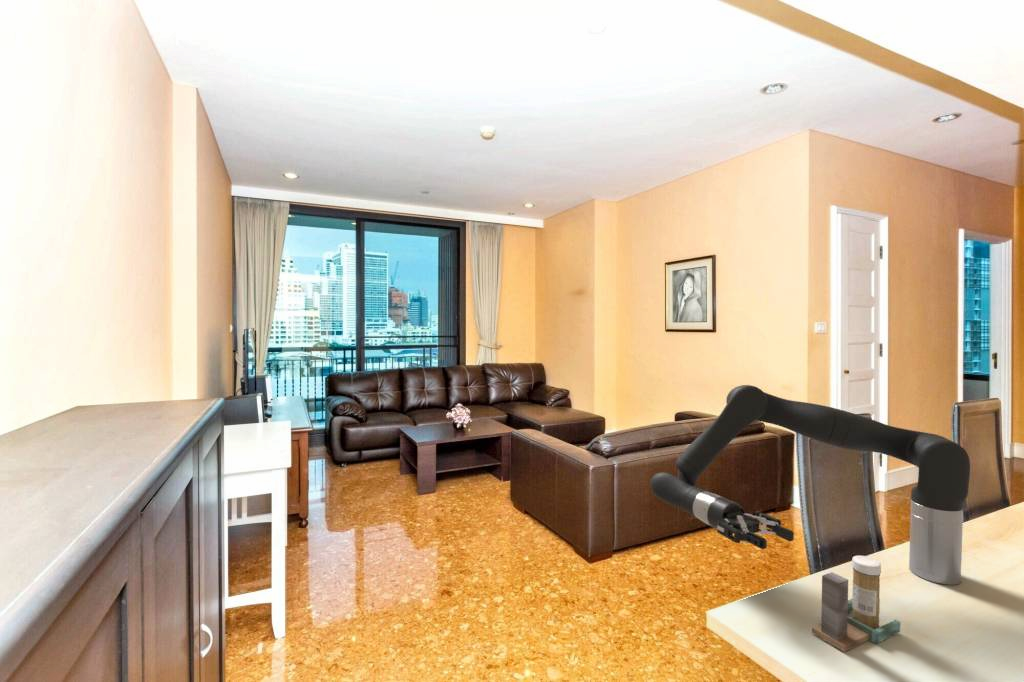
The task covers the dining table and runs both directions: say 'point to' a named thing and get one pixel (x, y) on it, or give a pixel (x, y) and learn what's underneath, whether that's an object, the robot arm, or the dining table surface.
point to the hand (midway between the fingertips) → (779, 540)
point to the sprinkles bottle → (866, 590)
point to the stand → (845, 618)
